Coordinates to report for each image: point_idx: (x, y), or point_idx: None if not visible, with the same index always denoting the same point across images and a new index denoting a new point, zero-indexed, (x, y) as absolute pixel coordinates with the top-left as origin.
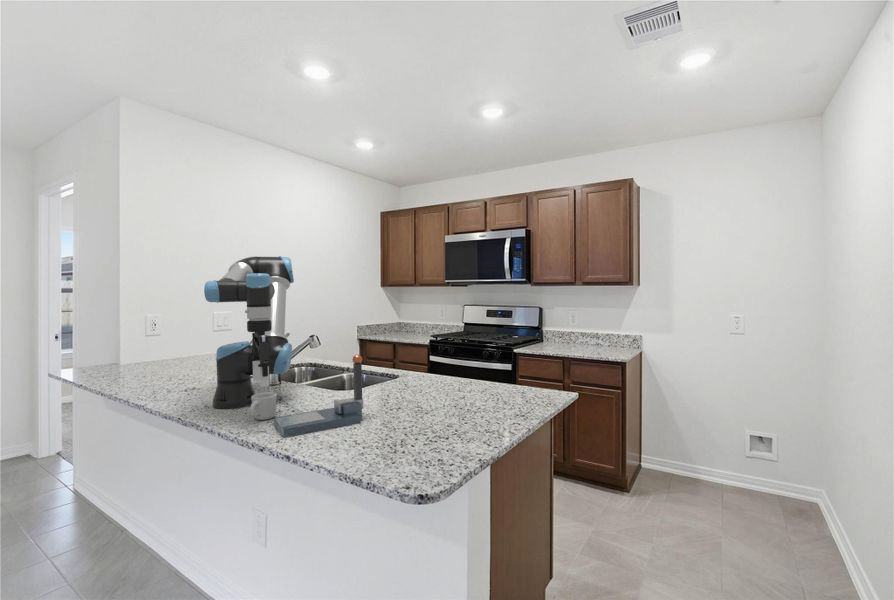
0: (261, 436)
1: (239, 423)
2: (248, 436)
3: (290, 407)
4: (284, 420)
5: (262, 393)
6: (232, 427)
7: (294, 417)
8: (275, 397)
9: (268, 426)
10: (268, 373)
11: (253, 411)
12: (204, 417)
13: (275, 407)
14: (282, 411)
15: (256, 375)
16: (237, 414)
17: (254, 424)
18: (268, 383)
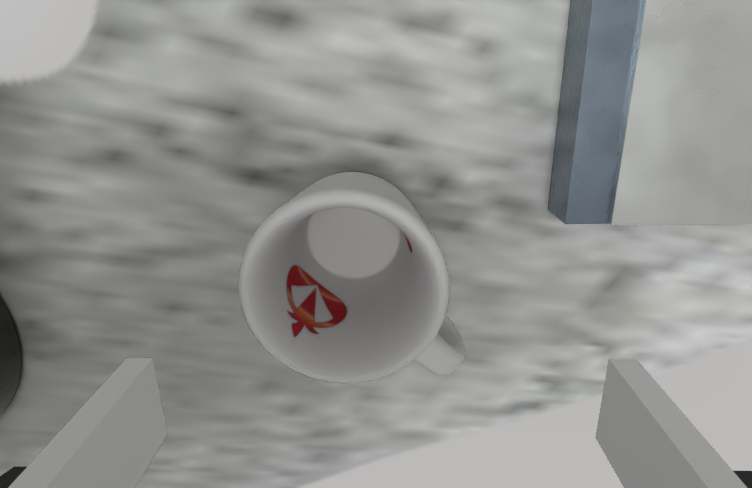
0: (700, 300)
1: None
2: (648, 351)
3: (158, 13)
4: (713, 182)
5: (251, 292)
6: (433, 395)
7: (697, 104)
8: (405, 206)
9: (546, 240)
10: (734, 481)
11: (462, 342)
12: (158, 482)
13: (381, 182)
14: (247, 95)
15: (135, 443)
16: (178, 348)
17: (451, 298)
18: (648, 385)
